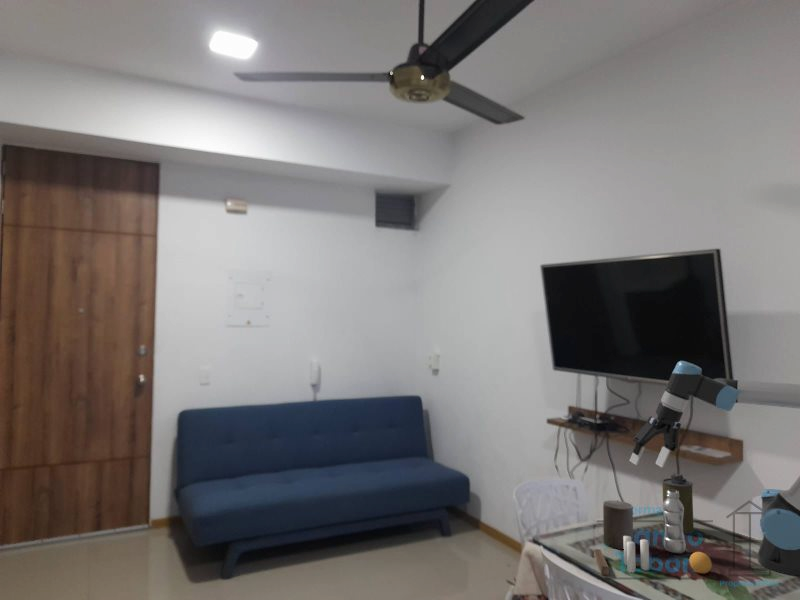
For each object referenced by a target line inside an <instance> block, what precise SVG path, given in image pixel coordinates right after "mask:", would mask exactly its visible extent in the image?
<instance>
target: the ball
mask: <svg viewBox="0 0 800 600" xmlns="http://www.w3.org/2000/svg"><path fill="white" fill-rule="evenodd" d="M689 565H690V566H691V568H692V569H693V571H695V572H696V573H698V574H707V573H709V572H710V571H711V569H712V567H713V566H712V565H713V563H712V560H711V558H710V557H709V555H707V554H706V553H704V552H702V551H695V552H693V553H692V554H690V557H689Z"/></svg>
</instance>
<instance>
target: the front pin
mask: <svg viewBox="0 0 800 600" xmlns="http://www.w3.org/2000/svg"><path fill="white" fill-rule="evenodd" d="M639 543H640V544H639V545H640V547H639V548H640V550H639V551H640V569H641V570H642V569H643V570H642V571H649V570H650V550H649V549H650V546H649V545H650V544H649V543H650V541H649V540H647V539H643V538H642V539H640V540H639Z"/></svg>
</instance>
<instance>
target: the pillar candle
mask: <svg viewBox="0 0 800 600" xmlns="http://www.w3.org/2000/svg"><path fill="white" fill-rule="evenodd" d="M602 508H603V510H602V513H603V514H602V515H603V518H602V519H603V524H602V525H603V526H602V527H603V544H604V543H605V544H604V546H606V547H608V546H610V547H613V548H612V549H615V548H617V549H616V550H623V549H624V545H623V536H630V537H631V540H632V542H634V514H633V513H634V511H633V509H634V505H632V503H628V502H626V501H622V500H614V499H612V500H605V501H603V507H602ZM610 547H609V548H610Z"/></svg>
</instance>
